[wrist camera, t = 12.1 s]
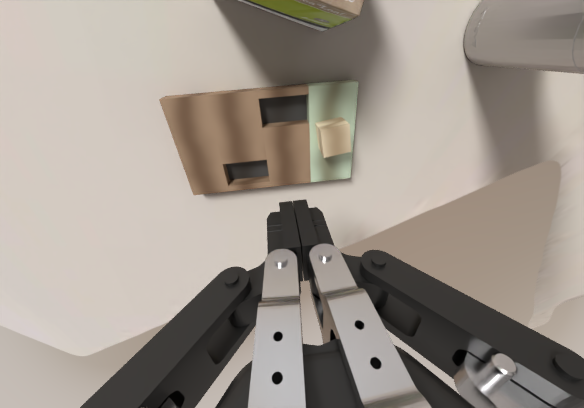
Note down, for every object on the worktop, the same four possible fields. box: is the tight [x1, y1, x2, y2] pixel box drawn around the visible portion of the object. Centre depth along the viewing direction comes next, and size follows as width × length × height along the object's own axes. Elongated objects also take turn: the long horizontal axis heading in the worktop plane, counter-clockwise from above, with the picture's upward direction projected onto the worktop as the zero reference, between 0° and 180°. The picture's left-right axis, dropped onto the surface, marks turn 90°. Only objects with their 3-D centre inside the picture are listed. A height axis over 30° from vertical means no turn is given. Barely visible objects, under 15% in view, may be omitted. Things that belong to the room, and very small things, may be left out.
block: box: [315, 117, 351, 158], centre depth 34 cm, size 4×4×4 cm
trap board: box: [159, 80, 359, 195], centre depth 37 cm, size 27×15×2 cm, turn 94°
